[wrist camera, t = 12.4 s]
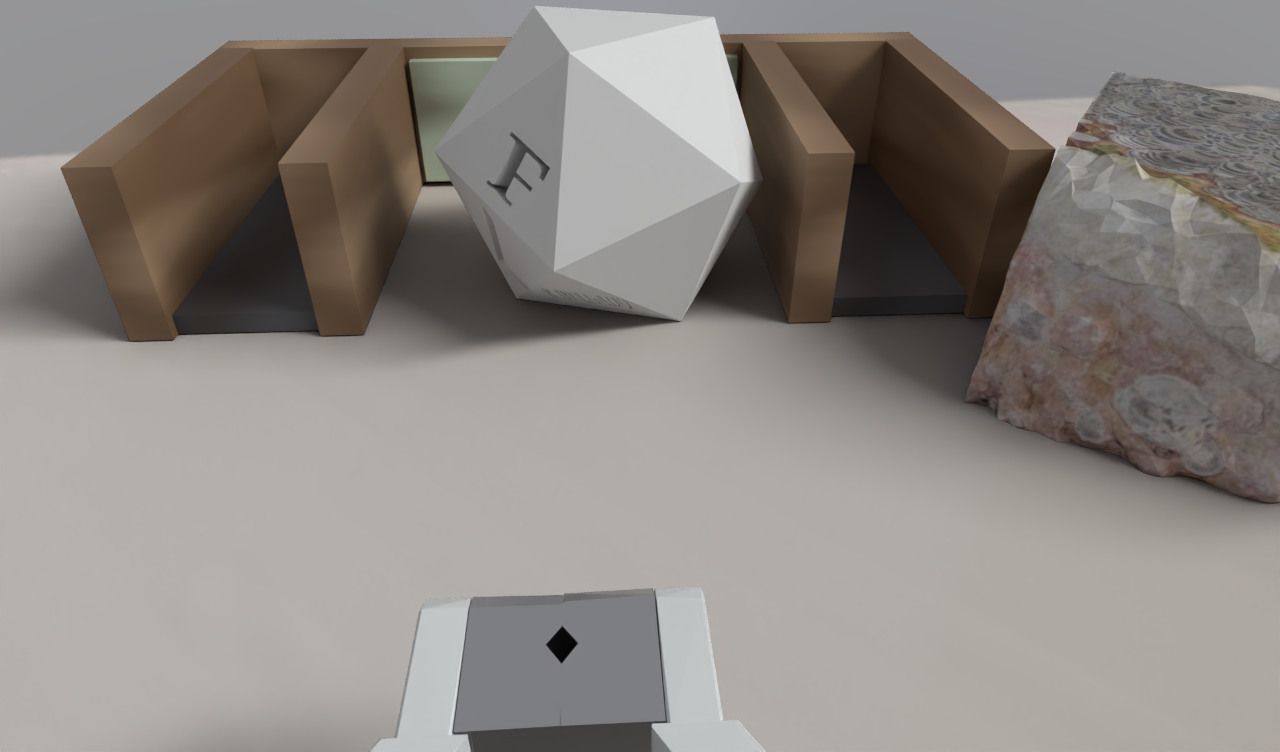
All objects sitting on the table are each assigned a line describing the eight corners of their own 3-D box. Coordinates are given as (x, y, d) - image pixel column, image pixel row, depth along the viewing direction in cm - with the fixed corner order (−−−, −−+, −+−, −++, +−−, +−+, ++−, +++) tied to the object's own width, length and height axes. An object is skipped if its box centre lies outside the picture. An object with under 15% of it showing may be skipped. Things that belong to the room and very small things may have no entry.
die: (466, 253, 30) (328, 72, 21) (649, 94, 31) (593, -145, 22) (621, 416, 27) (539, 290, 18) (817, 236, 28) (833, 30, 19)
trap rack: (130, 340, 24) (60, 167, 21) (263, 173, 34) (229, 40, 31) (1007, 316, 25) (1055, 148, 22) (886, 161, 35) (908, 32, 32)
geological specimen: (1525, 125, 24) (1719, 342, 14) (1409, 314, 28) (1491, 609, 17) (1117, 59, 29) (1019, 182, 18) (1059, 228, 32) (947, 417, 21)
